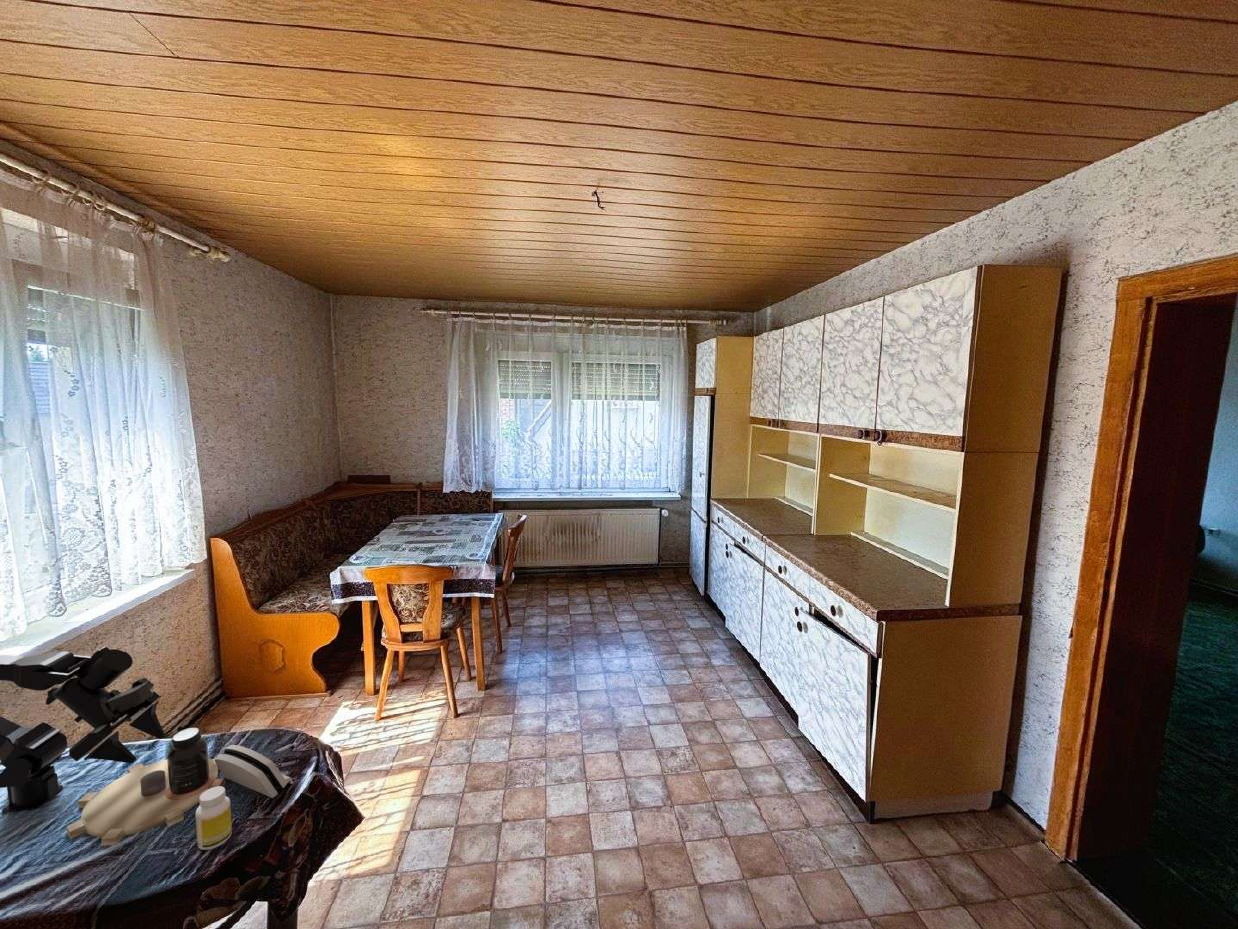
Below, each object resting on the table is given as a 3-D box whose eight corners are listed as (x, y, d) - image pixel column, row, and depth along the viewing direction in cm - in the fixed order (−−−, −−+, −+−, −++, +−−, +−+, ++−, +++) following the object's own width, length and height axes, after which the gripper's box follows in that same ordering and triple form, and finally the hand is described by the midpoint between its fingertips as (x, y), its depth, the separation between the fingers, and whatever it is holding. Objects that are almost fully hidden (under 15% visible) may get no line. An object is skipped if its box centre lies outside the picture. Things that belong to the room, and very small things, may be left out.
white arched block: (294, 783, 118) (278, 753, 113) (275, 803, 114) (258, 773, 109) (245, 763, 124) (228, 734, 119) (226, 781, 120) (207, 752, 116)
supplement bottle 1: (173, 780, 115) (169, 729, 114) (211, 770, 119) (209, 720, 117) (166, 800, 109) (162, 747, 108) (207, 789, 113) (204, 737, 112)
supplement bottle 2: (238, 833, 104) (236, 787, 103) (209, 854, 99) (206, 807, 98) (220, 825, 105) (217, 780, 104) (190, 846, 100) (187, 799, 99)
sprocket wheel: (27, 855, 97) (25, 833, 97) (127, 762, 123) (126, 745, 122) (186, 835, 103) (184, 814, 102) (250, 750, 128) (249, 733, 128)
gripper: (89, 694, 102) (152, 746, 105) (152, 656, 121) (204, 701, 123) (39, 736, 101) (104, 787, 104) (110, 690, 119) (164, 735, 122)
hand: (149, 748), depth 113 cm, fingers open, 9 cm apart
